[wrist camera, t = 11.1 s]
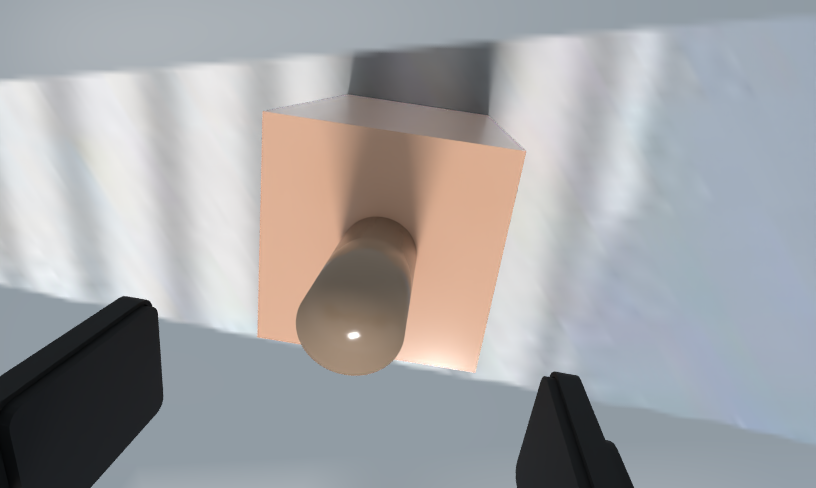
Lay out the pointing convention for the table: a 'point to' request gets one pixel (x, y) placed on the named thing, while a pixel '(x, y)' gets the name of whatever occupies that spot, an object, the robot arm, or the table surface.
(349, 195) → the cover
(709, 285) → the table surface
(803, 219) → the table surface
